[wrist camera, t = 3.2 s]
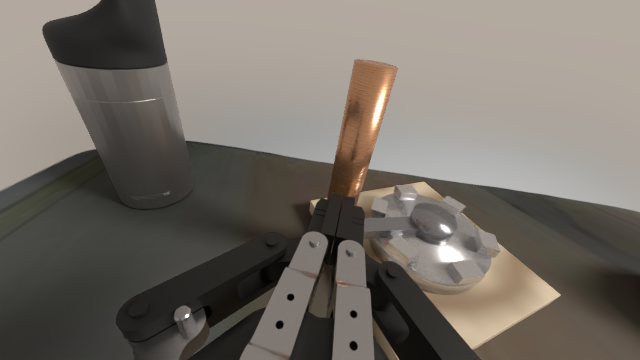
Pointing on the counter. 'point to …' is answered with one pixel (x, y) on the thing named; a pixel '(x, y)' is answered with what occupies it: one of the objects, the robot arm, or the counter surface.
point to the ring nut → (405, 200)
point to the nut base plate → (474, 289)
